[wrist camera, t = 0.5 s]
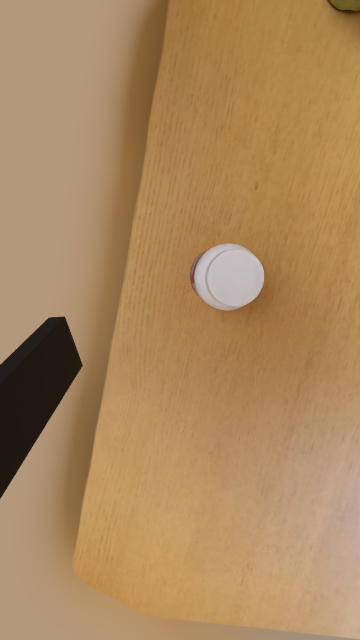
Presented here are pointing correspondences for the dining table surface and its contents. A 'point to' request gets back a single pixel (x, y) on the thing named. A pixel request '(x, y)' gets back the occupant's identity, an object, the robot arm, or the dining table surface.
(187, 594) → the dining table surface
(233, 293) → the pill bottle
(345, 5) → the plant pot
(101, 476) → the dining table surface
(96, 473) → the dining table surface
